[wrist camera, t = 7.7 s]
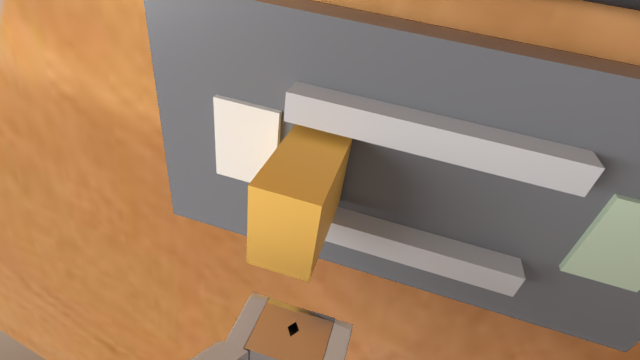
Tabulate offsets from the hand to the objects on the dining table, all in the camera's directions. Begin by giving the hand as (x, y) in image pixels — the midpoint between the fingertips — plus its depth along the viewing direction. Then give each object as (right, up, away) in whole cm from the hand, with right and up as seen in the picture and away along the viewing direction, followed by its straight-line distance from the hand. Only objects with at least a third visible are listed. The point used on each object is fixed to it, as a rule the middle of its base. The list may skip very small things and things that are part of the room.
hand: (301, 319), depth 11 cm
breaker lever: (+1, +5, +5) cm, 7 cm away
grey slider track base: (+5, +5, +7) cm, 10 cm away
